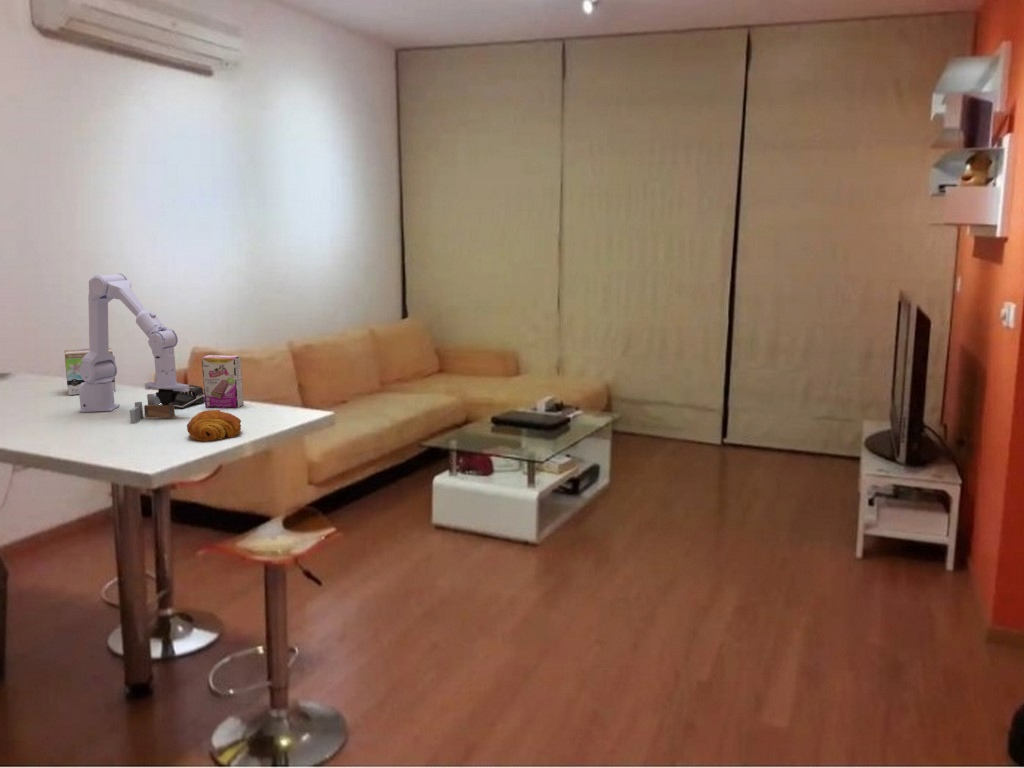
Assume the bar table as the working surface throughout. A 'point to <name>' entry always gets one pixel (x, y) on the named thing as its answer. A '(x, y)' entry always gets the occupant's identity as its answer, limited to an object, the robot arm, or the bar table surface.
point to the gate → (159, 411)
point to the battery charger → (188, 396)
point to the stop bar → (198, 400)
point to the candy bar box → (222, 381)
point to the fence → (137, 411)
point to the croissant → (213, 425)
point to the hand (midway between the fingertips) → (169, 413)
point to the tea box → (76, 369)
